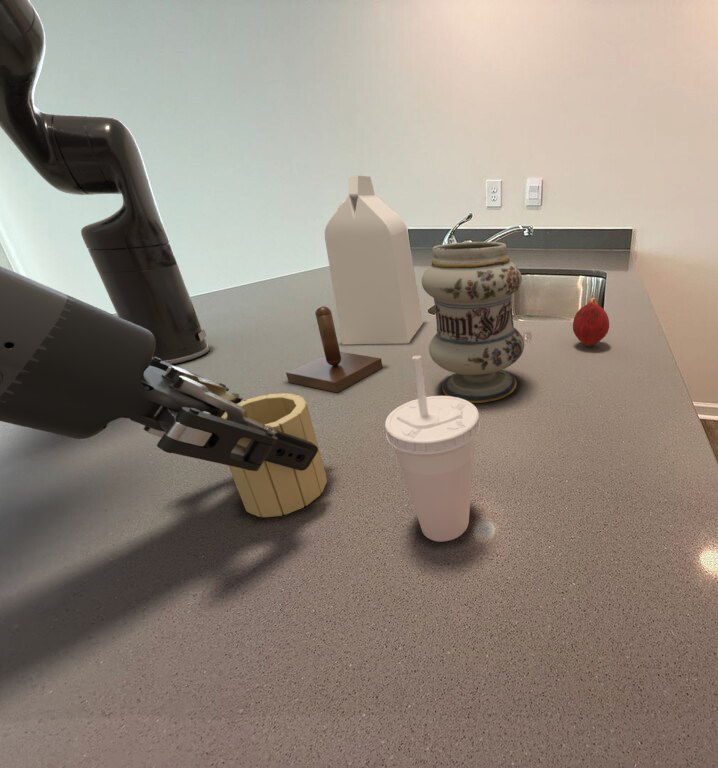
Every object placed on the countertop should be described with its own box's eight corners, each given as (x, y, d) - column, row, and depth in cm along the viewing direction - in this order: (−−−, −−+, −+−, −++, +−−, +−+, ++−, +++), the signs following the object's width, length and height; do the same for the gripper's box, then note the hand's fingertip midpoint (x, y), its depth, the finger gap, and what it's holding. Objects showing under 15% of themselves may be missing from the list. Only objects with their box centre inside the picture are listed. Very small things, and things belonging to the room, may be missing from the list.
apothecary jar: (474, 362, 62) (465, 237, 54) (541, 380, 55) (543, 241, 48) (414, 392, 53) (394, 247, 45) (486, 417, 46) (477, 254, 39)
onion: (607, 353, 64) (611, 303, 60) (570, 351, 65) (572, 302, 61) (607, 341, 69) (611, 294, 66) (573, 339, 70) (575, 293, 67)
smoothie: (409, 498, 34) (384, 342, 28) (485, 492, 35) (476, 338, 29) (396, 559, 29) (361, 380, 23) (487, 552, 29) (476, 374, 23)
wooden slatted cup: (227, 504, 34) (193, 423, 31) (291, 462, 39) (269, 388, 36) (281, 526, 32) (251, 440, 28) (342, 478, 37) (322, 400, 34)
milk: (408, 343, 70) (385, 174, 59) (342, 344, 70) (306, 175, 59) (423, 322, 81) (405, 176, 70) (365, 323, 81) (339, 178, 70)
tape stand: (288, 382, 56) (268, 312, 52) (337, 359, 64) (323, 296, 60) (337, 392, 53) (320, 318, 49) (382, 367, 61) (371, 301, 56)
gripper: (65, 314, 18) (358, 432, 31) (57, 277, 27) (286, 380, 40) (-50, 465, 17) (303, 523, 30) (-19, 373, 26) (243, 448, 39)
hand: (293, 441), depth 35 cm, fingers closed on wooden slatted cup, 6 cm apart
